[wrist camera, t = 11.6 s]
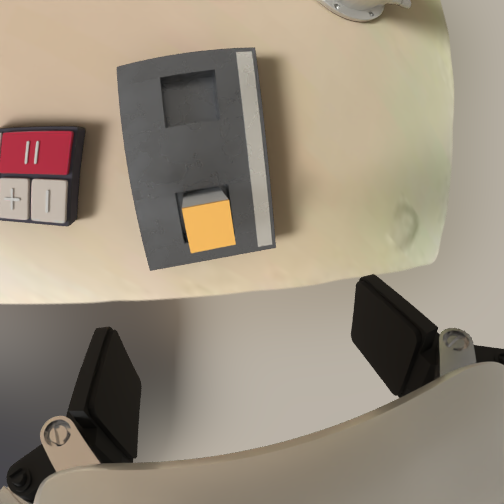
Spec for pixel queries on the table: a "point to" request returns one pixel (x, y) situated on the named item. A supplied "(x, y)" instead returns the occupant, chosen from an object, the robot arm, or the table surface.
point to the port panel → (196, 148)
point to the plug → (207, 219)
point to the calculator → (40, 174)
